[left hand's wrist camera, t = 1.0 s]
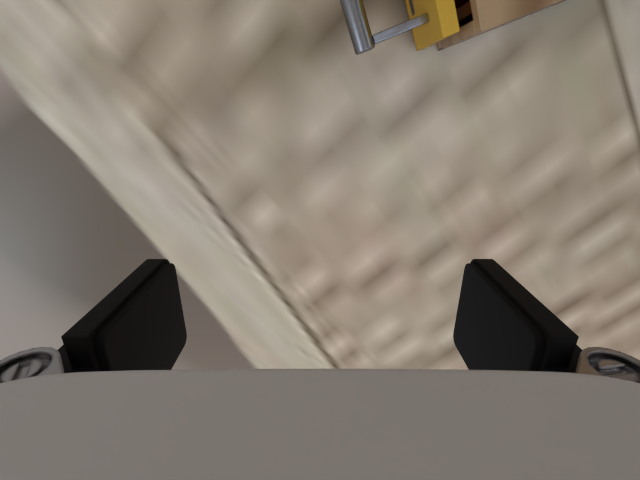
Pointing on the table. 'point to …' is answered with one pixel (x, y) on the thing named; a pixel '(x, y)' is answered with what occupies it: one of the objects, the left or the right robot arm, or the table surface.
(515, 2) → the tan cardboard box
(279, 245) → the table surface
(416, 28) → the drawer
